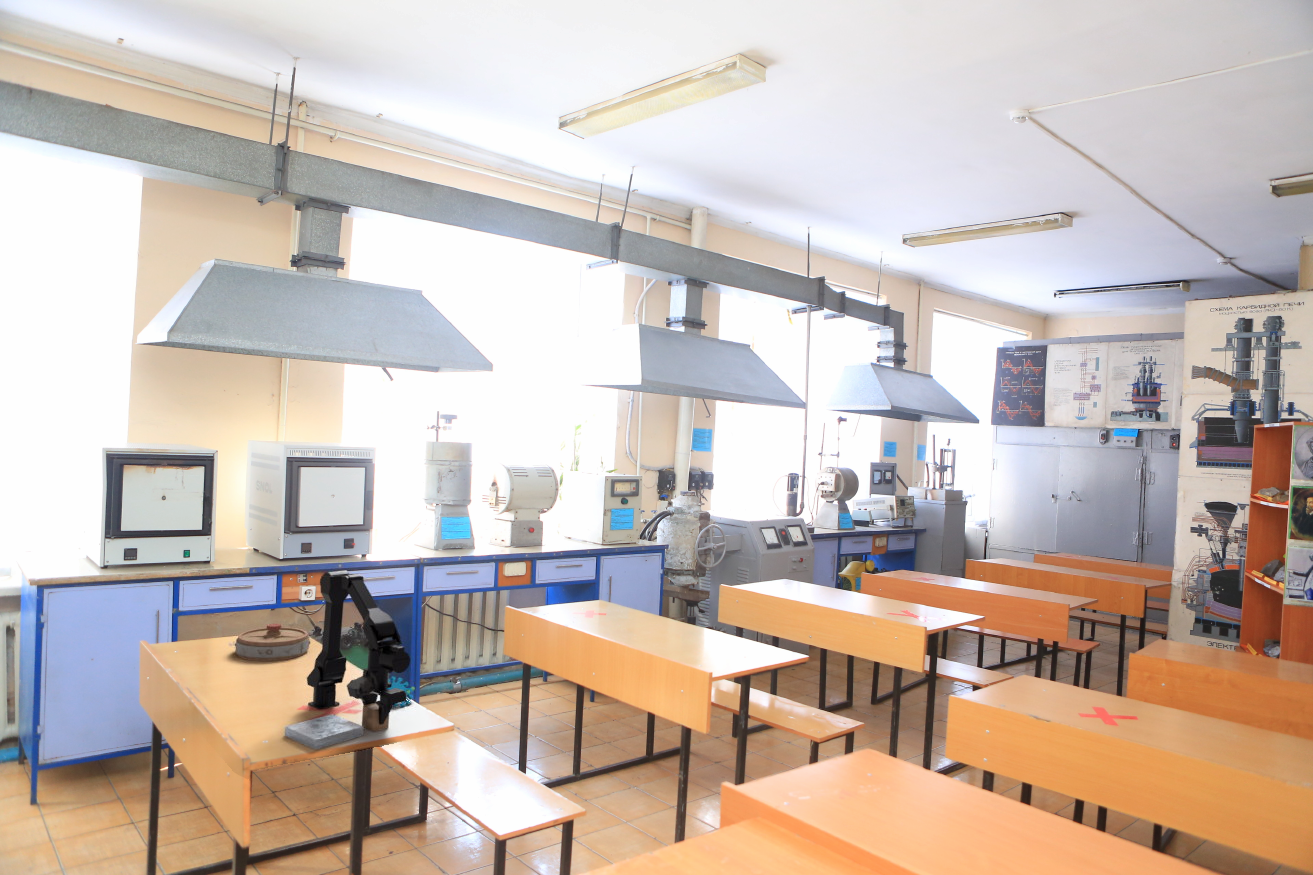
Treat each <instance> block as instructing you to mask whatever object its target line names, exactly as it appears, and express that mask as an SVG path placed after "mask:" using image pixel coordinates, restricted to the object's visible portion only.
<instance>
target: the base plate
mask: <svg viewBox="0 0 1313 875" xmlns="http://www.w3.org/2000/svg"><path fill="white" fill-rule="evenodd" d="M363 735H364V728H363V726H362V724H358V723H356V722H354V721H351V720H348V719H346V718H344V717H341V716H338V715H336V714H334V713H332V714H327V715H324V716H321V717H317V718H312V719H308V720H305V721H301V722H300V721H299V722H297V723H292V724H289V725H286V726H285V727H284V737H287V738H289V739H290V740H293V741H295V742H297V743H299V744H302V745H303V746H305V747H308V748H311V749H313V750H315V751H316V750H319V749H322V748H326V747H328V746H331V745H336V744H338V743H339V744H340V743H342V742H346V741H350V740H352V739H356V738H357V739H358V738H360V737H363Z"/></svg>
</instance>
